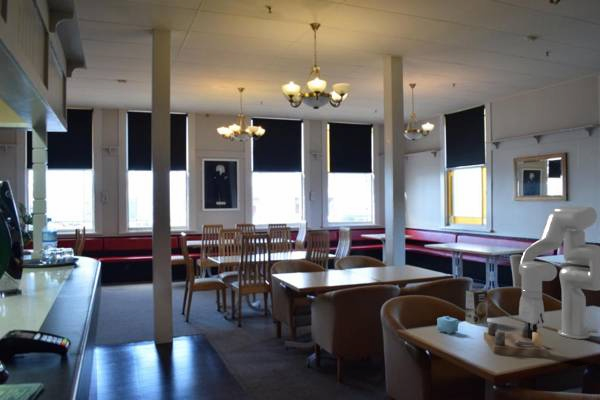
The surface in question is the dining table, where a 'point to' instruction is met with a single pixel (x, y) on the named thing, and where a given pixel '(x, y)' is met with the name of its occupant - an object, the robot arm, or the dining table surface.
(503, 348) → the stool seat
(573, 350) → the dining table surface
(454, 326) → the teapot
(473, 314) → the coffee box
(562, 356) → the dining table surface
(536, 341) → the hinged leg
